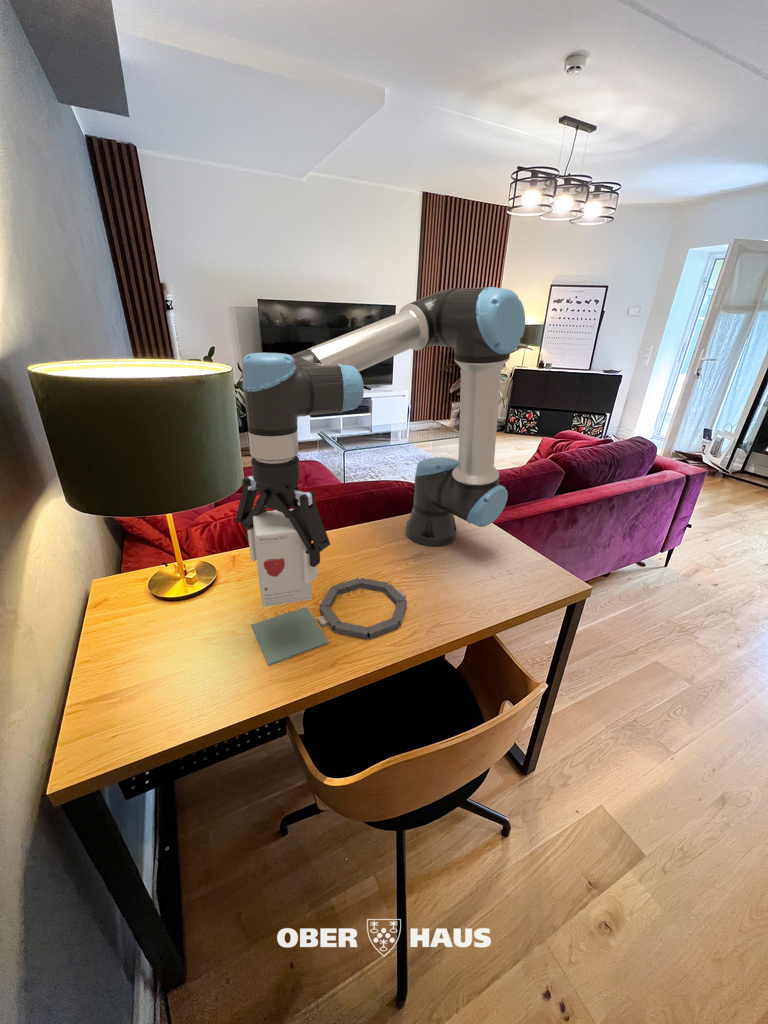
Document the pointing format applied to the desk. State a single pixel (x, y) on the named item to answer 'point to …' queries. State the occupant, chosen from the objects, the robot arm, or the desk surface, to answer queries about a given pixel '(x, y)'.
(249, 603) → the desk surface
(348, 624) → the socket collar
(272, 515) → the supplement box
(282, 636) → the felt pad
